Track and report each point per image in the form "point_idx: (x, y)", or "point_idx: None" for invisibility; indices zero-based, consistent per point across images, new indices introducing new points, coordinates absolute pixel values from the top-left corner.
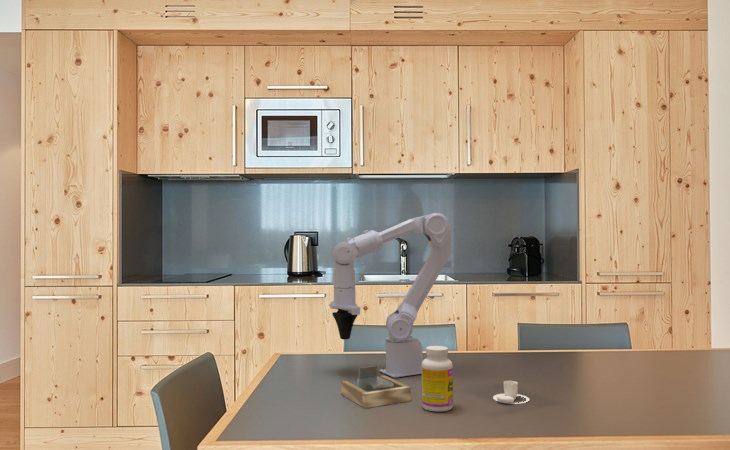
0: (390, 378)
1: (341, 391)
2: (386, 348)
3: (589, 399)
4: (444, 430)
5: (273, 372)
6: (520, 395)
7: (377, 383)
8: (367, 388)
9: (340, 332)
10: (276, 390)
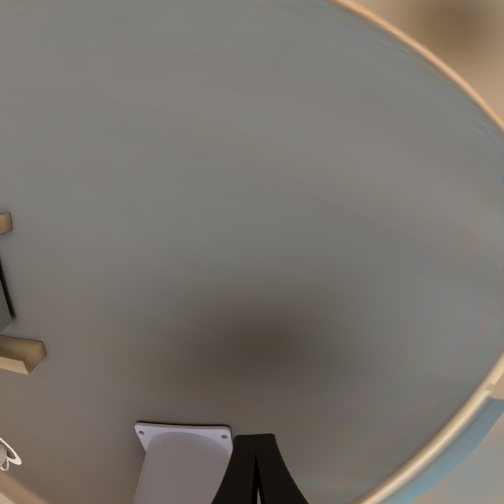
0: (2, 366)
1: (3, 214)
2: (175, 494)
3: (13, 481)
4: None
5: (421, 75)
6: (14, 461)
7: None
8: None
9: (250, 469)
10: (140, 6)
